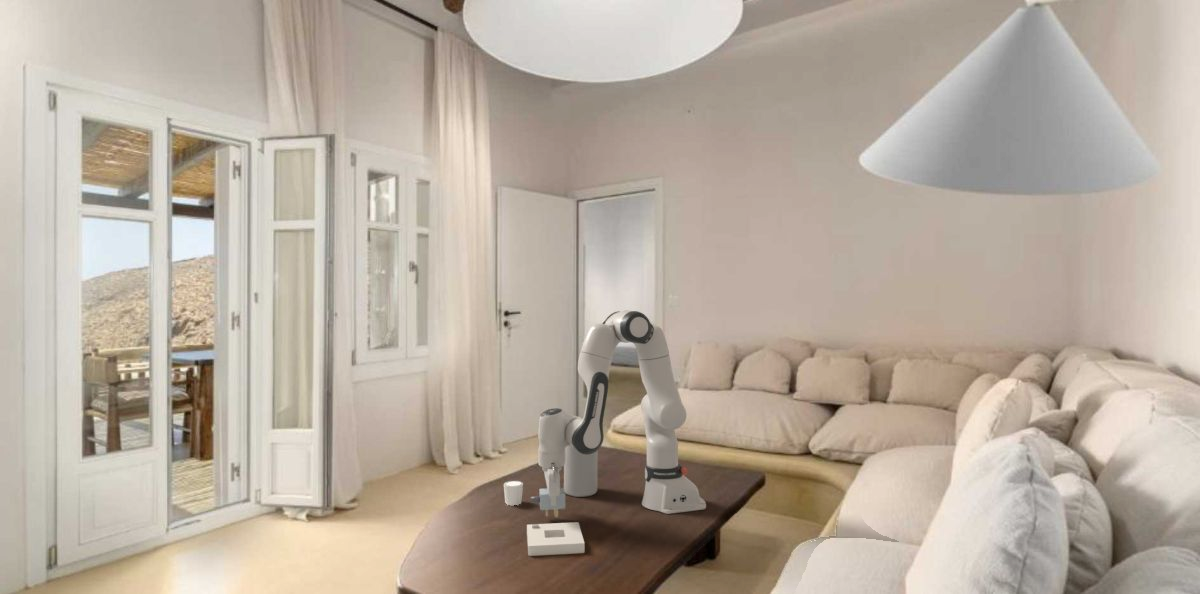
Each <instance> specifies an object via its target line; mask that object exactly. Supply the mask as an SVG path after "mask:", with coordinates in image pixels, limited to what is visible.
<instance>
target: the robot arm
mask: <svg viewBox="0 0 1200 594" xmlns="http://www.w3.org/2000/svg"><path fill="white" fill-rule="evenodd" d="M620 343H624V344H625V343H626V344H627V343H632V344H633V345H634V346H635V349H636V351H637V353H636V354H637V359H638V365H639V372H640V377H641V382H642V384H643V386H644V388H645V391H646V394H645V395H644V396H643V398H642V399H641V402H640V408H641V411H642V415H643V416H642V417H643V425H644V432H645V438H646V463H645V468H644V479H645V486H644V493H643V497H642V501H641V505H642V507H644V508H646V509H649V510H652V511H656V512H660V513H663V514H667V515H668V514H669V515H670V514H677V513H678V514H679V513H687V512H693V511H695V512H696V511H700V510H701V511H702V510H706V508H707V504H706V503H707V502H706V501H705V500H704V499H703V498H702V497H701V496H700V493H699V492H700V491H699V489H698V487H697V485H695V483H694V482H692V481H691V480H690V479H689V478H688V477H686V476H685V475H687V474H688V469H687V468H685V467H684V466H682V465H681V464H679V442H678V439H677V435H676V430H677V429H680V428H681V427H683V425H684V424H685V422H686V419H687V410H686V409H685V406H684V405H683V402H682V399H681V396H680V392H679V390H678V387H677V384H676V381H675V378H674V374H673V368H672V363H671V358H670V357H671V356H670V352H669V346H668V344H667V340H666V337H665V334H664V331H663V329H662V328H661V327H660V326H658V325H656V324H655V325H654V324H652V322H651V321H650V319H649V318H648V317H647V315H645V313H642V312H640V311H637V310H629V309H628V310H627V309H626V310H620V311H615V312H613V313H611V314H609V315H608V316H607V317H606V318H605V320H604V321H603V322H602V323H595V324H593V325H591V326H590V327H589V328H588V330H587V333H586V335H585V337H584V339H583V343H582V346H581V349H580V352H579V356H578V360H577V361H578V362H577V372H578V375H579V376H580V378H581V379H582V381H583V382H584V385H585V386H586V387H585V388H586V391H587V395H586V403H585V408H584V413H583V418H582V417H580V416H578V415H574V414H570V413H568V412H566V411H565V410H563V409H562V408H560V407H559V408H558V407H556V408H549V409H546V410H544V411H542V413H540V416H539V419H538V428H537V429H538V431H537V432H538V433H537V437H538V438H537V439H538V442H539V445H538V450H537V451H538V452H537V453H538V454H537V455H538V457H537V459H538V463H537V464H538V466H539V467H540V468H542V469H541V470H542V471H543V473H544V474H543V475H544V479H545V485H546V488H547V489H548V494H549V496H550V504H551V506H556V498H557V496H560V488H561V476H560V475H561V474H560V471H561V470H562V469H563V468H562V467H564V465H565V448H566V446H570V445H571V446H572V447H574V448H575V449H576V450H578V451H579V452H580V453H582V454H585V455H588V454H592V453H594V452H596V451H597V450H598V451H599V449H600V448H601V446H602V445H603V442H604V437H605V436H604V427H603V426H604V425H603V423H604V417H605V412H606V411H605V410H606V405H607V404H606V403H607V398H608V392H609V379H610V378H609V377H610V376H609V375H610V371H611V365H612V362H613V357H614V352H615V350H616V348H617V346H618V345H619V344H620Z"/></svg>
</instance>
